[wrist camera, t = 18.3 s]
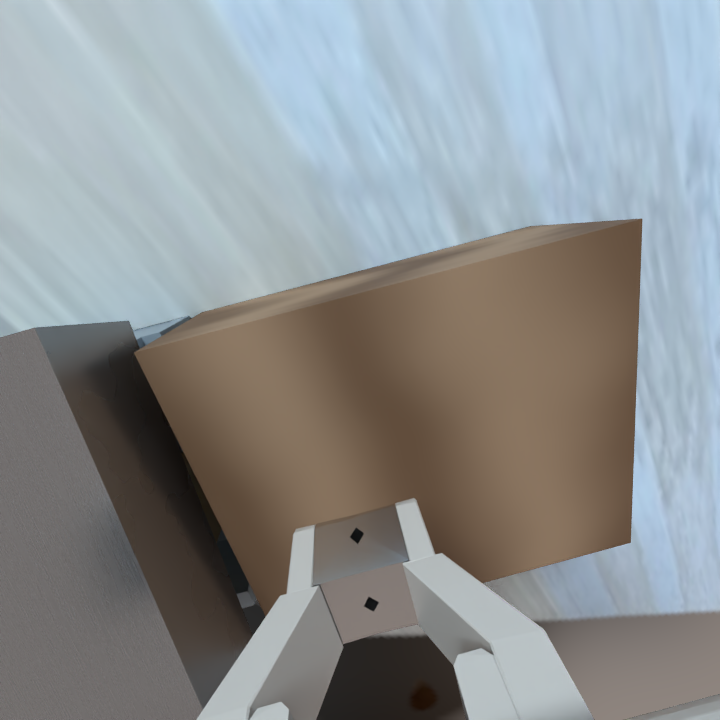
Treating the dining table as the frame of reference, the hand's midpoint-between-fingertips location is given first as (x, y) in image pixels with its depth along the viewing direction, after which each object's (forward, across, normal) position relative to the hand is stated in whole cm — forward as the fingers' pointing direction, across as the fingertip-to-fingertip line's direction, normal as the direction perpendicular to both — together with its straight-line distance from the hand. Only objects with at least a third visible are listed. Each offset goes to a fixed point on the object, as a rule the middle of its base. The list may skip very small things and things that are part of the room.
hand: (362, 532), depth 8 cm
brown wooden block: (+7, -2, 0) cm, 7 cm away
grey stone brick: (+1, +5, 0) cm, 5 cm away
